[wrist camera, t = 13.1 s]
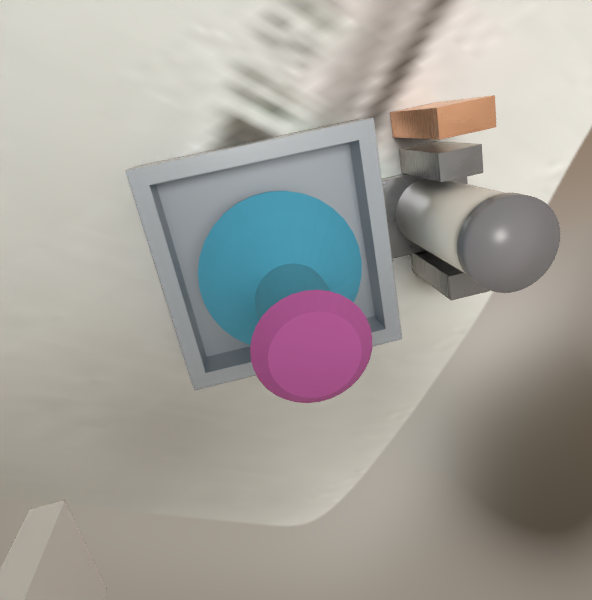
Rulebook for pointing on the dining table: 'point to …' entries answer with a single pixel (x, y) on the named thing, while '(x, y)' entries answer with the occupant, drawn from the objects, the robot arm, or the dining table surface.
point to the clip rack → (436, 176)
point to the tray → (247, 182)
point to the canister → (481, 231)
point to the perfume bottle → (289, 293)
